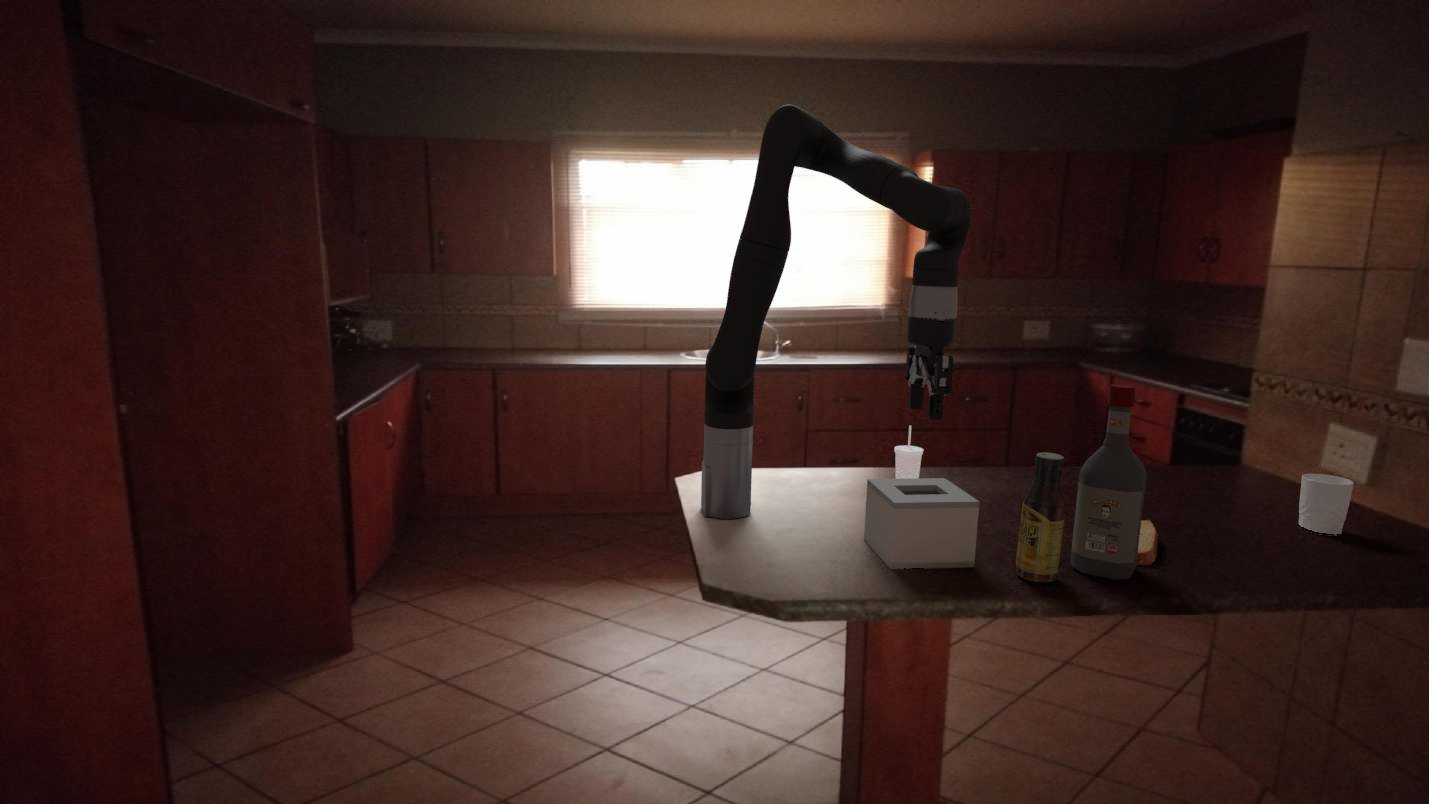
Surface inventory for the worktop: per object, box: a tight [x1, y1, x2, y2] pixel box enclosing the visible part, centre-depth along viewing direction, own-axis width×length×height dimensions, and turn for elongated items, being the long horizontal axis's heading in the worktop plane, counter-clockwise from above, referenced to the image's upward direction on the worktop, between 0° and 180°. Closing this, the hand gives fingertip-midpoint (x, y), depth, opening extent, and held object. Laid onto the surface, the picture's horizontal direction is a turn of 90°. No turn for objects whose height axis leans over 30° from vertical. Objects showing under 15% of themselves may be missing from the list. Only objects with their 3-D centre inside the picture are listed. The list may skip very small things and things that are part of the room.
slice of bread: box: [1136, 519, 1159, 566], centre depth 147 cm, size 18×18×4 cm
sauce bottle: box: [1015, 452, 1067, 584], centre depth 129 cm, size 6×6×20 cm
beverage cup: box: [894, 424, 924, 479], centre depth 178 cm, size 6×6×14 cm
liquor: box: [1069, 383, 1148, 581], centre depth 133 cm, size 9×9×30 cm
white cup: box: [1298, 473, 1354, 536], centre depth 157 cm, size 8×8×10 cm
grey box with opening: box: [863, 477, 980, 570], centre depth 139 cm, size 14×14×11 cm
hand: (924, 414), depth 136 cm, fingers open, 8 cm apart
